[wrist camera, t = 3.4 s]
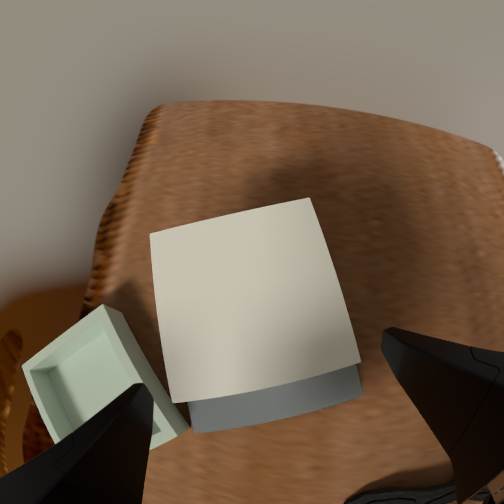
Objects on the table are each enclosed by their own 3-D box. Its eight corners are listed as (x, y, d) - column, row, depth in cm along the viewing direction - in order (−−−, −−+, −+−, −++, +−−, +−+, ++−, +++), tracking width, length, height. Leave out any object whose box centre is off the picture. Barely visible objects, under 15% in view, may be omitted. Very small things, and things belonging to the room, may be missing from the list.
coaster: (359, 394, 18) (363, 395, 17) (197, 430, 18) (194, 433, 17) (318, 246, 23) (319, 240, 22) (170, 279, 23) (166, 275, 22)
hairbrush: (357, 475, 14) (567, 407, 10) (347, 460, 17) (547, 408, 14) (337, 556, 11) (551, 477, 7) (331, 535, 14) (533, 473, 11)
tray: (190, 427, 18) (177, 436, 15) (96, 472, 16) (77, 480, 13) (122, 312, 22) (102, 303, 19) (43, 368, 20) (21, 365, 17)
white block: (308, 365, 18) (361, 361, 7) (229, 383, 18) (172, 403, 7) (289, 291, 21) (309, 197, 10) (214, 308, 20) (149, 233, 9)
